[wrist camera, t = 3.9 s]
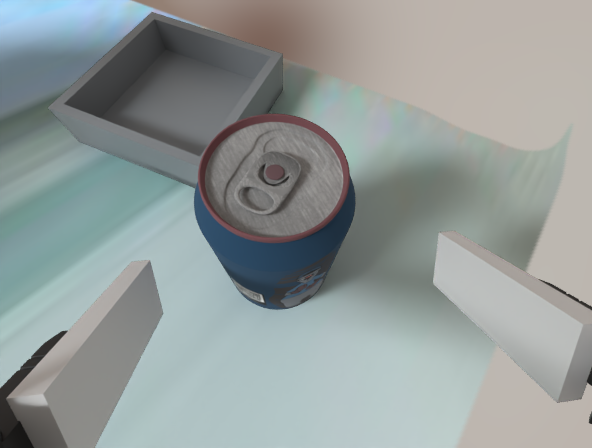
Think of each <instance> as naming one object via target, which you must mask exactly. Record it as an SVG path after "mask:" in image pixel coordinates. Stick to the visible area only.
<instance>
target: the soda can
mask: <svg viewBox="0 0 592 448" xmlns="http://www.w3.org/2000/svg"><path fill="white" fill-rule="evenodd" d="M194 208H195V215H196V219H197V222H198V225H199V227H200V230H201V231H202V233H203V235H204V237H205V238H206V240H207V241H208V243H209V245H210V246H211V248H212V249H213V251H214V253H215V254H216V256H217V257H218V259H219V261H220V262H221V264H222V265H223V267H224V269H225V270H226V272H227V273H228V275H229V276H230V278H231V280H232V281H233V283H234V284H235V286H236V288H237V289H238V290H239V292H240V293H241V294H242V295H243V296H244V297H245V298H246V299H248V300H249V301H251V302H252V303H254V304H256V305H258V306H261V307H264V308H268V309H288V308H292V307H295V306H298V305H300V304H302V303H304V302H305V301H307V300H308V299H310V298H311V297H312V296H313V295H314V294H315V293H316V292H317V291H318V290H319V288H320V287H321V285H322V283H323V281H324V279H325V277H326V275H327V273H328V271H329V269H330V267H331V265H332V263H333V261H334V259H335V257H336V255H337V252H338V250H339V248H340V246H341V244H342V242H343V240H344V238H345V236H346V234H347V232H348V230H349V228H350V225H351V223H352V220H353V216H354V211H355V191H354V186H353V183H352V180H351V177H350V173H349V166H348V162H347V159H346V156H345V154H344V152H343V150H342V148H341V147H340V145H339V144H338V143H337V141H336V140H335V139H334V138H333V137H332V136H331V135H330V134H329V133H328V132H327V131H325V130H324V129H323V128H321V127H320V126H318V125H316V124H314V123H312V122H310V121H308V120H306V119H303V118H300V117H296V116H291V115H285V114H263V115H257V116H252V117H248V118H245V119H242V120H239V121H237V122H235V123H233V124H231V125H229V126H228V127H226V128H225V129H223V130H222V131H221V132H220V133H219V134H218V135H216V137H215V138H214V139H213V140H212V141H211V142H210V144H209V145H208V147H207V148H206V150H205V152H204V154H203V156H202V158H201V161H200V165H199V169H198V182H197V185H196V189H195V196H194Z"/></svg>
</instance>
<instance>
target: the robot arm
mask: <svg viewBox="0 0 592 448" xmlns="http://www.w3.org/2000/svg"><path fill="white" fill-rule="evenodd" d="M433 284H434V285H435V286H436V287H437V288H438V289H439V290H440V291H441V292H442V293H443V294H445V295H446V296H447V297H448V298H449V299H450V300H451V301H452V302H453V303H454V304H455V305H456V306H457V307H458V308H459V309H460V310H461V311H462V312H463V313H464V314H465V315H466V316H467V317H468V318H469V319H471V320H472V321H473V322H474V323H475V324H476V325H477V326H478V327H479V328H480V329H481V330H482V331H483V332H484V333H485V334H486V335H487V336H488V337H489V338H490V339H491V340H492V341H493V342H494V343H496V344H497V345H498V346H499V347H500V348H501V349H502V350H503V351H504V352H505V353H506V354H507V355H508V356H509V357H510V358H511V359H512V360H513V361H514V362H515V363H516V364H517V365H518V366H520V367H521V368H522V369H523V370H524V371H525V372H526V373H527V374H528V375H529V376H530V377H531V378H532V379H533V380H534V381H535V382H536V383H537V384H538V385H539V386H540V387H541V388H542V389H543V390H544V391H546V392H547V393H548V394H549V395H550V396H551V397H552V398H553V399H554V400H555V401H556V402H557V403H559V402H566V401H572V400H578V399H582V396H583V393H584V390H585V388H586V385H587V382H588V383H589V384H590V385H591V386H592V307H591V306H589V305H587V304H586V303H584V302H582V301H579V300H578V299H577V298H575V297H574V296H572V295H570V294H566V292H565V291H563V290H561V289H559V288H558V287H556V286H554V285H552V284H550V283H547V282H545V281H542V280H540V279H537V278H535V277H533V276H531V275H530V274H528V273H526V272H525V271H523V270H521V269H519V268H518V267H516V266H514V265H513V264H511V263H509V262H507V261H506V260H504V259H502V258H500V257H499V256H497V255H495V254H494V253H492V252H490V251H488V250H487V249H485V248H483V247H482V246H480V245H478V244H476V243H475V242H473V241H471V240H469V239H468V238H466V237H464V236H463V235H461V234H459V233H457V232H456V231H447V232H439V236H438V245H437V253H436V262H435V270H434V279H433ZM162 315H163V310H162V306H161V302H160V298H159V294H158V290H157V286H156V282H155V278H154V274H153V270H152V266H151V262H150V260H145V261H134V262H131V263H130V264H129V265H128V266H127V267H126V268H125V269H124V271H123V272H122V273H121V274H120V275H119V276H118V277H117V278H116V279H115V280H114V281H113V283H112V284H111V285H110V286H109V287H108V288H107V289H106V290H105V291H104V292H103V293H102V295H101V296H100V297H99V298H98V299H97V300H96V301H95V302H94V303H93V304H92V305H91V307H90V308H89V309H88V310H87V311H86V312H85V313H84V314H83V315H82V316H81V317H80V319H79V320H78V321H77V322H76V323H75V324H74V325H73V326H72V327H71V328H70V329H69V331H62V332H60V333H59V334H57V335H56V336H54V337H53V338H51V339H50V340H48V341H47V342H45V343H44V344H43V345H42V346H41V347H40V348H39V349H38V350H37V351H36V352H35V353H34V354H33V355H32V356H31V359H28V360H27V362H26V363H25V364H24V365H23V366H22V367H21V369H20V370H19V371H17V372H16V373H15V374H14V375H13V376H12V377H11V378H10V379H9V380H8V381H7V382H6V383H5V384H4V385H3V386H2V387H1V388H0V448H95V446H96V444H97V442H98V440H99V438H100V436H101V434H102V432H103V430H104V428H105V426H106V425H107V423H108V421H109V419H110V417H111V415H112V413H113V411H114V409H115V407H116V405H117V403H118V401H119V399H120V397H121V395H122V393H123V391H124V389H125V387H126V385H127V383H128V381H129V379H130V378H131V376H132V374H133V372H134V370H135V368H136V366H137V364H138V362H139V360H140V358H141V356H142V354H143V352H144V350H145V348H146V346H147V344H148V342H149V340H150V338H151V336H152V334H153V332H154V330H155V329H156V327H157V325H158V323H159V321H160V319H161V317H162ZM589 423H590V424H592V413H591V415H590V419H589Z"/></svg>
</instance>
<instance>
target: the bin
mask: <svg viewBox="0 0 592 448" xmlns="http://www.w3.org/2000/svg"><path fill="white" fill-rule="evenodd" d="M282 90H283V54H281V53H278V52H275V51H272V50H269V49H266V48H263V47H260V46H256V45H253V44H250V43H247V42H244V41H241V40H238V39H235V38H231V37H228V36H225V35H222V34H219V33H216V32H213V31H210V30H206V29H203V28H200V27H197V26H194V25H191V24H188V23H184V22H181V21H178V20H175V19H172V18H169V17H166V16H163V15H159V14H156V13H153V12H152V13H150V14H149V15H148V16H147V17H146V18H145V19H144V20H143V21H142V22H141V23H139V24H138V25H137V26H136V27H135V28H134V29H133V30H132V31H131V32H130V33H129V34H127V35H126V36H125V37H124V38H123V39H122V40H121V41H120V42H119V43H118V44H117V45H115V46H114V47H113V48H112V49H111V50H110V51H109V52H108V53H107V54H106V55H105V56H103V57H102V58H101V59H100V60H99V61H98V62H97V63H96V64H95V65H94V66H93V67H91V68H90V69H89V70H88V71H87V72H86V73H85V74H84V75H83V76H82V77H80V78H79V79H78V80H77V81H76V82H75V83H74V84H73V85H72V86H71V87H70V88H68V89H67V90H66V91H65V92H64V93H63V94H62V95H61V96H60V97H59V98H58V99H56V100H55V101H54V102H53V103H52V104H51V105H50V106H49V107H48V109H49V110H50V111H51V112H52V113H53V114H54V115H55V116H56V117H57V118H58V119H59V120H60V122H61V123H62V124H63V125H64V126H65V127H66V128H67V129H68V130H69V131H70V132H71V133H72V134H73V136H74V137H75V138H76V139H77V140H78V141H79V142H82V143H84V144H87V145H89V146H92V147H94V148H97V149H99V150H102V151H104V152H107V153H109V154H112V155H114V156H117V157H119V158H122V159H124V160H127V161H129V162H132V163H134V164H137V165H139V166H141V167H144V168H146V169H149V170H151V171H154V172H156V173H159V174H161V175H164V176H166V177H169V178H171V179H174V180H176V181H179V182H181V183H184V184H186V185H189V186H191V187H194V188H196V185H197V182H198V169H199V165H200V161H201V158H202V156H203V154H204V152H205V150H206V148H207V147H208V145H209V144H210V142H211V141H212V140H213V139H214V138H215V137H216V135H218V134H219V133H220V132H221V131H222V130H223V129H225V128H226V127H228V126H229V125H231V124H233V123H235V122H237V121H239V120H242V119H245V118H248V117H252V116H257V115H263V114H268V112H269V110H270V109H271V107H272V106H273V104H274V103H275V101H276V99H277V98H278V96H279V95H280V93H281V91H282Z"/></svg>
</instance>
